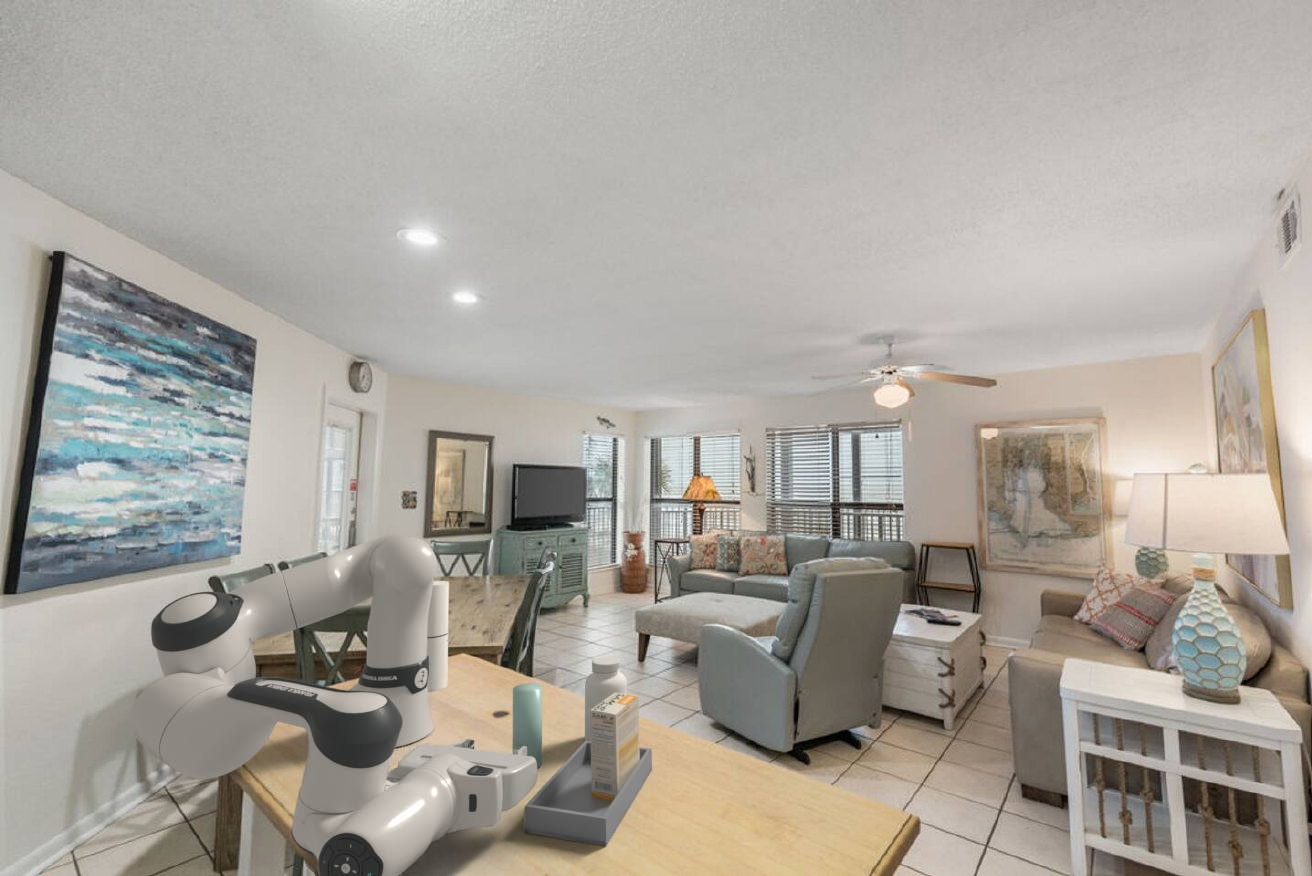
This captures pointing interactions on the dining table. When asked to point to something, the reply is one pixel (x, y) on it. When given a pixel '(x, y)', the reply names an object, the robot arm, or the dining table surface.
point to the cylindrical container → (438, 636)
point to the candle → (528, 719)
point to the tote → (582, 801)
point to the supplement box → (614, 744)
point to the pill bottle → (602, 685)
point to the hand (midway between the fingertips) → (496, 747)
